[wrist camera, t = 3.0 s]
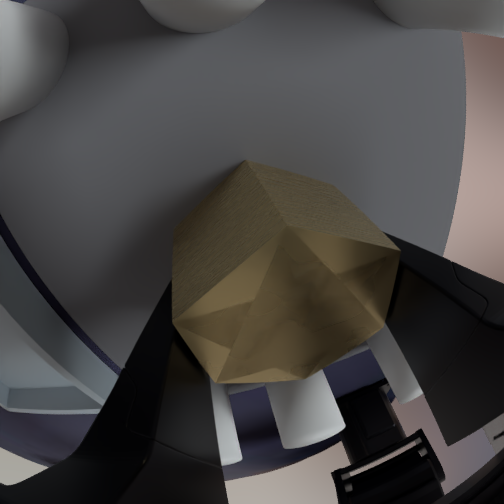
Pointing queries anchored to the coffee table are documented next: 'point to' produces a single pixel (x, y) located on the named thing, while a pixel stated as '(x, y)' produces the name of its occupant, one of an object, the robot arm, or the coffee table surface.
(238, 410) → the coffee table surface
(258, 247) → the tan faceted polyhedron
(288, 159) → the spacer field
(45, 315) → the nut tray
